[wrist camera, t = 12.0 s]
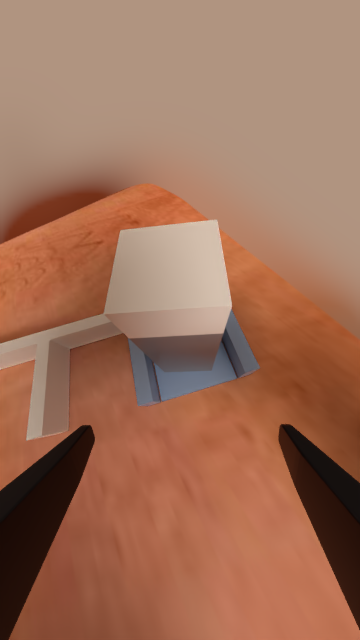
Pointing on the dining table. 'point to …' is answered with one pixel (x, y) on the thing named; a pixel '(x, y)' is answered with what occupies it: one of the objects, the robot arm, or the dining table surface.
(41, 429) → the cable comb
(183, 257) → the grey tall block
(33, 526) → the robot arm
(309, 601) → the dining table surface
